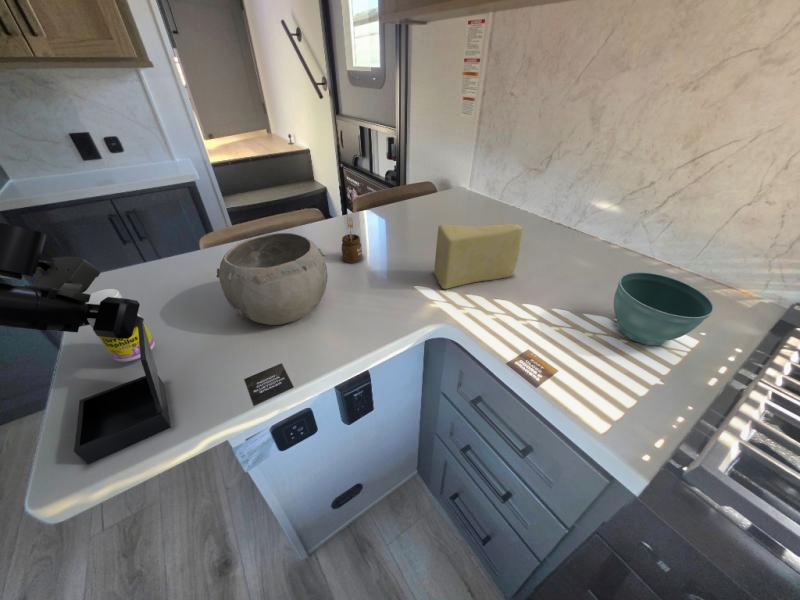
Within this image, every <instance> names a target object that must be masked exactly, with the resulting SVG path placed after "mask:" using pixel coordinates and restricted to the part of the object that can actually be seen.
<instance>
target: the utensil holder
mask: <svg viewBox="0 0 800 600" xmlns="http://www.w3.org/2000/svg"><path fill="white" fill-rule="evenodd" d="M346 223H347V227H346V229H348V230H349V233H347V234H345V235H343V236H342V238H341V255H342V260H343V261H344V262H346V263H349V264H355V263H359V262H361V260H362V259H363V248H362V247H363V246H362V242H361V237H360V236H359V235H358V234H355V233H354V229H353V228H354V221H353V216H347V217H346Z"/></svg>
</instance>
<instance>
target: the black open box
mask: <svg viewBox="0 0 800 600" xmlns="http://www.w3.org/2000/svg"><path fill="white" fill-rule="evenodd" d="M158 380H159V387H160V395H161V403H162V410H163V412H160V413H158V412H157V409H156V406H155V403H154V400H153V397H152V393H151V390H150V387H149V384H148V381H147V378H146V375H143V376H140V377H138V378H135V379H132V380H130V381H127V382H124V383H122V384H119V385H117V386H113V387H111V388H108V389H106V390H103V391H100V392H98V393H97V392H96V393H95V394H92V395H88V396H87V397H84V398H82V399H79V401H78V412H77V418H76V428H75V437H74V445H73V447H74V448H73V452H74V453H75V454H76V456H78V457H79V458H80V459H81V460H82V461H83V462H85V463H86V464H87V465H88V466H89V465H91V464H93V463H95V462H97V461H100V460H102V459H105V458H106V457H108V456H110V455H113V454H115V453H117V452H120V451H122V450H124V449H126V448H129V447H131V446H133V445H135V444H138V443H140V442H142V441H144V440H146V439H148V438H150V437H153V436H155V435H157V434H159V433H162V432H164V431H166V430H169V429H170V428H171V420H170V419H171V418H170V414H169V413H170V411H169V407H168V399H167V393H166V387H165V386H166V385H165V384H164V382H163V380H162V379H161V377H160V375H158Z"/></svg>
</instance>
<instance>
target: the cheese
mask: <svg viewBox="0 0 800 600" xmlns="http://www.w3.org/2000/svg"><path fill="white" fill-rule="evenodd" d="M522 237H523V228H522V226H521V225H519V224H513V223H511V224H510V223H509V224H507V223H506V224H495V225H494V224H493V225H492V224H491V225H455V224H439V225H438V227H437V236H436V247H435V259H434V271H433V273H434V276H435V278H436V280H437V282H438V284H439V286H440V287H441V289H443V290H447V289H453V288H457V287H459V286H464V285H468V284H473V283H478V282H486V281H494V280H500V279H504V278H505V279H506V278H511V277H513V275H514V273H515V269H516V266H517V264H518V260H519V256H520V250H521V244H522Z"/></svg>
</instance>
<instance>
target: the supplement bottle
mask: <svg viewBox="0 0 800 600" xmlns="http://www.w3.org/2000/svg"><path fill="white" fill-rule="evenodd" d="M90 295H91V296H90V300H89V302H86V303H87V304H97V305H100V302H101V301H102V300H104V299H105V298H107V297H114V298H123V297H122V294H121V293H120V291H119V290H117V289H116V288H106V289H102V290H97V291H95V292H92V293H90ZM90 312H98V311H92V310H91V311H90ZM137 316H139V317H141V318H142V316H141V314H140V313H139V312H138V314H137ZM87 320H88V322H89V324H90V325H89V326H90V327H91V328H92V329H93V327H94V324H95V320H96V319H92V318H87ZM143 324H144V327H145V330H146V334H147V337H148V340H149V344H150V347H151V351H152V350H153V349H154V347H155V339H154V337H153V336H152V333H151V332H150V330H149V329H148V327H147V325H146V323H145V322H144V321H143ZM97 337H98V339H100V341H101V342H102V344H103V345H104V347H105V349H106V350H107V351H108V353H109V354H110V356H111V357H112V358H113V359H114V360H116V361H117V362H122V363H126V362H131V361H137V360H139V359H141V358H140V346H139V333H138V326H137V327H135V328H134V330H133V334H132V336H131V337H130V338H129V339H120V338H110V337H101V336H97Z"/></svg>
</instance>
